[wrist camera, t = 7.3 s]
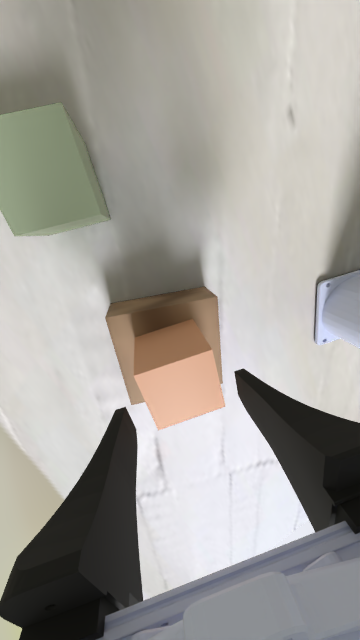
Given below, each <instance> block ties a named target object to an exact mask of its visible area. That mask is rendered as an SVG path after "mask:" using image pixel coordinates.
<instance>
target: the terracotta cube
mask: <svg viewBox="0 0 360 640" xmlns="http://www.w3.org/2000/svg"><path fill="white" fill-rule="evenodd" d="M134 378H135V380H136V383H137V385H138V387H139V389H140V391H141V393H142V396H143V398H144V400H145V402H146V404H147V407H148V409H149V411H150V413H151V415H152V417H153V420H154V422H155V424H156V426H157V428H158V430H161V429H163V428H166V427H169V426H172V425H175V424H177V423H180V422H183V421H186V420H189V419H192V418H194V417H197V416H200V415H203V414H206V413H208V412H211V411H214V410H217V409H220V408H222V407H225V402H224V398H223V394H222V389H221V385H220V381H219V376H218V372H217V368H216V363H215V359H214V355H213V351H212V348H211V347H210V345H209V344H208V342H207V340H206V339H205V337H204V336H203V334H202V333H201V331H200V329H199V328H198V326H197V325H196V323H195V322H194V320H193V319H190V320H187V321H184V322H181V323H178V324H175V325H172V326H169V327H165V328H162V329H159V330H156V331H153V332H150V333H147V334H144V335H141V336H138V337H135V341H134Z"/></svg>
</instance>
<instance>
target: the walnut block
mask: <svg viewBox="0 0 360 640" xmlns="http://www.w3.org/2000/svg"><path fill="white" fill-rule="evenodd" d="M105 319H106V322H107V325H108V329H109V332H110V335H111V339H112V342H113V345H114V349H115V352H116V355H117V359H118V362H119V365H120V369H121V372H122V375H123V379H124V382H125V385H126V388H127V392H128V395H129V398H130V402H131V405H134V404H139V403H143V402H145V400H144V398H143V396H142V393H141V391H140V389H139V387H138V385H137V383H136V380H135V378H134V341H135V337H138V336H141V335H144V334H147V333H150V332H153V331H156V330H159V329H162V328H165V327H169V326H172V325H175V324H178V323H181V322H184V321H187V320H190V319H193V320H194V322H195V323H196V325H197V326H198V328H199V329H200V331H201V333H202V334H203V336H204V337H205V339H206V340H207V342H208V344H209V345H210V347H211V348H212V351H213V355H214V359H215V363H216V368H217V372H218V376H219V381H220V384H222V383H223V382H222V365H221V349H220V332H219V316H218V299H217V296H216V295H214V294H213V293H212V292H211V291H209V290H208V289H207V288H206V287H200V288H194V289H189V290H183V291H178V292H172V293H166V294H161V295H155V296H150V297H144V298H139V299H133V300H128V301H122V302H116V303H111V304H110V307H109V309H108V312H107V315H106V317H105Z"/></svg>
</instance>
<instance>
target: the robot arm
mask: <svg viewBox="0 0 360 640" xmlns="http://www.w3.org/2000/svg"><path fill="white" fill-rule="evenodd" d="M327 283H328V284H327ZM326 285H327V286H326ZM337 339H342V340H344V341H346V342H348V343H350V344H352V345H354V346H356V347H358V348H360V270H357V271H354V272H351V273H347V274H344V275H341V276H338V277H334V278H331V279H328V280H324V281H321V282H320V283H319V284H318V286H317V307H316V331H315V343H316V344H317V345H322V344H325V343H328V342H331V341H334V340H337ZM235 378H236V384H237V390H238V395H239V397H240V399H241V401H242V403H243V405H244V407H245V409H246V410H247V412H248V414H249V415H250V417H251V418H252V419H253V421H254V422H255V424H256V425H257V427H258V428H259V430H260V431H261V433H262V434H263V436H264V437H265V439H266V440H267V442H268V443H269V445H270V447H271V448H272V450H273V452H274V454H275V455H276V457H277V459H278V461H279V463H280V464H281V466H282V468H283V470H284V472H285V474H286V476H287V477H288V479H289V481H290V483H291V485H292V487H293V489H294V491H295V493H296V495H297V497H298V498H299V500H300V502H301V504H302V506H303V508H304V510H305V512H306V514H307V516H308V518H309V520H310V522H311V524H312V526H313V528H314V530H315V533H313V534H310V535H308V536H305V537H303V538H300V539H298V540H296V541H293V542H290V543H288V544H285V545H283V546H280V547H278V548H275V549H273V550H270V551H268V552H265V553H263V554H260V555H257V556H255V557H252V558H250V559H247V560H245V561H242V562H240V563H237V564H235V565H232V566H230V567H227V568H225V569H222V570H220V571H217V572H215V573H212V574H210V575H207V576H205V577H202V578H200V579H197V580H195V581H192V582H190V583H187V584H185V585H182V586H180V587H177V588H175V589H172V590H170V591H167V592H165V593H162V594H160V595H157V596H155V597H152V598H150V599H147V600H145V601H143V594H142V583H141V573H140V561H139V548H138V533H137V516H136V470H137V434H136V428H135V426H134V424H133V422H132V419H131V417H130V415H129V413H128V411H127V409H126V407H124V408H121V409H118V410H116V411H115V412H114V415H113V417H112V419H111V421H110V423H109V426H108V428H107V430H106V432H105V434H104V436H103V438H102V440H101V442H100V444H99V446H98V448H97V450H96V452H95V454H94V455H93V457H92V459H91V461H90V463H89V464H88V466H87V468H86V469H85V471H84V473H83V474H82V476H81V477H80V479H79V480H78V482H77V483H76V485H75V486H74V488H73V489H72V491H71V492H70V493H69V495H68V496H67V498H66V499H65V500H64V502H63V503H62V504H61V506H60V507H59V508H58V510H57V511H56V512H55V514H54V515H53V516H52V517H51V519H50V520H49V521H48V522H47V523H46V525H45V526H44V527H43V528H42V529H41V531H40V532H39V533H38V534H37V535H36V536H35V537H34V539H33V540H32V541H31V542H30V543H29V544H28V545H27V547H26V548H25V549H24V550H23V551H22V552H21V553H20V555H18V557H17V559H16V561H15V564H14V566H13V569H12V571H11V574H10V576H9V579H8V582H7V584H6V587H5V590H4V593H3V595H2V598H1V601H0V616H1V617H2V618H3V619H5V620H7V621H9V622H11V623H13V624H15V625H17V626H19V627H21V628H22V632H21V635H20V639H19V640H360V423H358V422H354V421H350V420H347V419H343V418H340V417H337V416H334V415H331V414H328V413H325V412H323V411H320V410H318V409H315V408H312V407H310V406H307V405H305V404H303V403H301V402H299V401H296V400H294V399H292V398H290V397H288V396H286V395H285V394H283V393H281V392H279V391H277V390H276V389H274V388H272V387H271V386H269V385H267V384H266V383H264V382H263V381H261V380H260V379H258V378H257V377H255V376H254V375H252V374H251V373H249V372H248V371H246V370H245V369H241V370H237V371H235Z"/></svg>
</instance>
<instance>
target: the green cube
mask: <svg viewBox="0 0 360 640" xmlns="http://www.w3.org/2000/svg"><path fill="white" fill-rule="evenodd" d="M0 210H1V212H2V214H3V216H4V218H5V219H6V221H7V223H8V225H9V227H10V229H11V231H12V232H13V234H14V236H49V235H53V234H57V233H61V232H65V231H68V230H72V229H76V228H80V227H84V226H88V225H92V224H96V223H100V222H104V221H107V220H111V218H110V215H109V212H108V209H107V206H106V204H105V201H104V198H103V195H102V192H101V189H100V186H99V183H98V180H97V177H96V174H95V171H94V168H93V166H92V163H91V160H90V157H89V154H88V151H87V148H86V145H85V142H84V141H83V139H82V137H81V136H80V134H79V132H78V130H77V129H76V127H75V125H74V123H73V122H72V120H71V118H70V117H69V115H68V113H67V111H66V110H65V108H64V106H63V105H62V103H61V102H59V103H54V104H50V105H45V106H40V107H35V108H31V109H26V110H21V111H16V112H11V113H7V114H2V115H0Z"/></svg>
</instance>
